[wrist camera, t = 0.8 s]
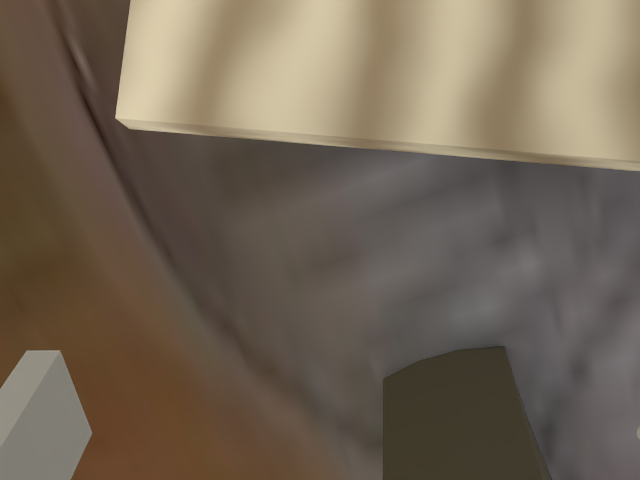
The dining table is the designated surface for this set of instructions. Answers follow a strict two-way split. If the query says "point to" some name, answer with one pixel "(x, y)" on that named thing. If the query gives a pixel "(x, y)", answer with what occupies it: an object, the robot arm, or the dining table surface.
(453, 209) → the dining table surface
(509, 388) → the olive curved-top slab
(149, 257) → the dining table surface
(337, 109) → the plank
